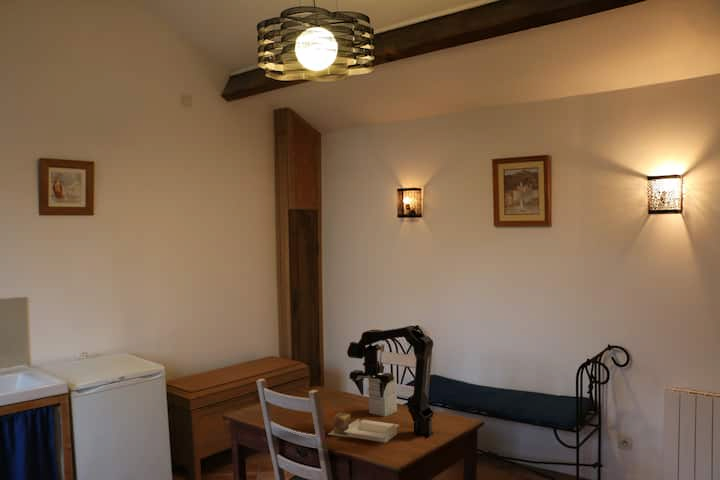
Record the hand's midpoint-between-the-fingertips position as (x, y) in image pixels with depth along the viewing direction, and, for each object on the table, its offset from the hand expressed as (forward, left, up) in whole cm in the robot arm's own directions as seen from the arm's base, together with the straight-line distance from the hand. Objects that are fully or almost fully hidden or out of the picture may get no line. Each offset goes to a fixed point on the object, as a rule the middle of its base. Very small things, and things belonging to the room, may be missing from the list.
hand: (372, 396), depth 257 cm
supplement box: (+4, -18, -13) cm, 22 cm away
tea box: (+7, +14, -12) cm, 20 cm away
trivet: (+7, +14, -12) cm, 20 cm away
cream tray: (-6, +12, -12) cm, 19 cm away
